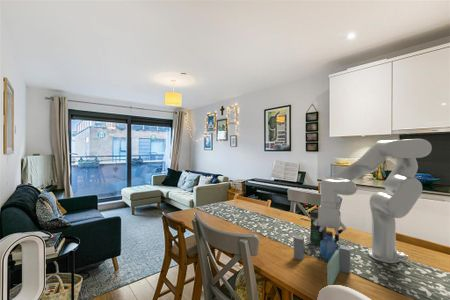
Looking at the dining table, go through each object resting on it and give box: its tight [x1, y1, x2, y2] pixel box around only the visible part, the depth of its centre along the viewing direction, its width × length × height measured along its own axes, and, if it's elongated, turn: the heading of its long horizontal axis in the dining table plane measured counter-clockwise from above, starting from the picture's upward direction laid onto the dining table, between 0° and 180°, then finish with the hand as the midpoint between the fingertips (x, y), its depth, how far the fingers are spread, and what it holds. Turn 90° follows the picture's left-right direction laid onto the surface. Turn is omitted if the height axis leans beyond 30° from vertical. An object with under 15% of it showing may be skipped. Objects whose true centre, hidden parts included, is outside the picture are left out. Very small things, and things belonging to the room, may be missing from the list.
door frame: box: [293, 235, 352, 274], centre depth 102 cm, size 24×3×10 cm, turn 55°
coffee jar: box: [309, 208, 328, 246], centre depth 125 cm, size 10×8×19 cm
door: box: [326, 250, 340, 287], centre depth 90 cm, size 15×1×9 cm, turn 141°
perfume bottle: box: [319, 230, 340, 261], centre depth 109 cm, size 6×6×12 cm
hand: (329, 240), depth 109 cm, fingers closed on perfume bottle, 5 cm apart
